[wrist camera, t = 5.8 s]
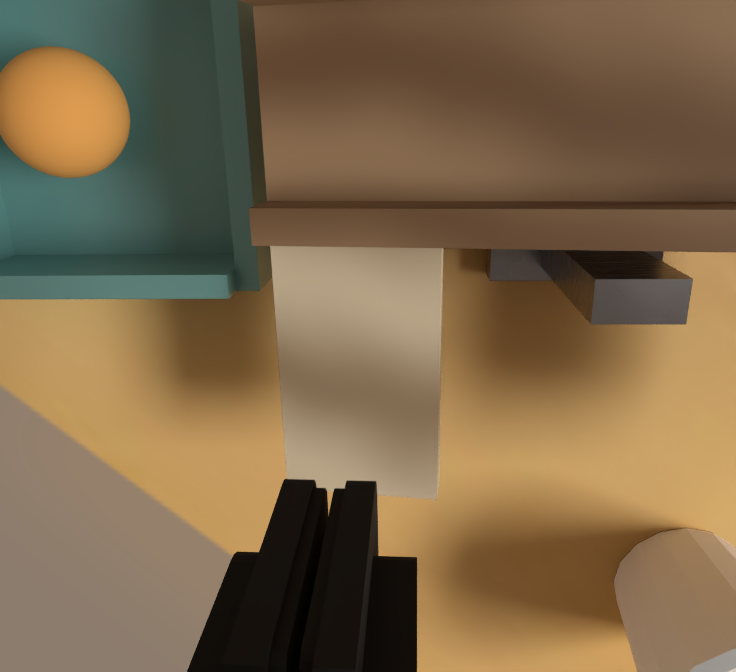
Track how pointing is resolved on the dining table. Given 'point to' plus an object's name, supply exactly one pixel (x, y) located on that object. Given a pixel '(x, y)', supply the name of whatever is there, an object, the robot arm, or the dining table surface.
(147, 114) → the teal tray
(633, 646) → the white cup
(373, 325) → the walnut lever
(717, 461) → the dining table surface
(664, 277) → the lever stand
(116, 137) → the orange ball
